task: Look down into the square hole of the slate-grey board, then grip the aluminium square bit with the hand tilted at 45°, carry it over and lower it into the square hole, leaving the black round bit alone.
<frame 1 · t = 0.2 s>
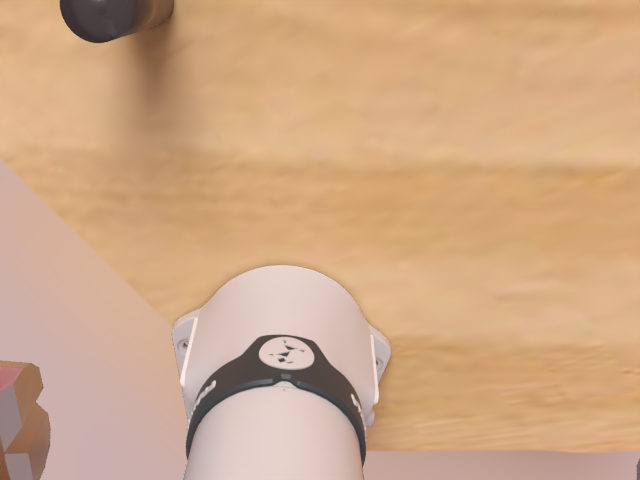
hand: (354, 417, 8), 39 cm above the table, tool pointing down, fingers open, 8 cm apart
round bit: (149, 0, 42), on the table
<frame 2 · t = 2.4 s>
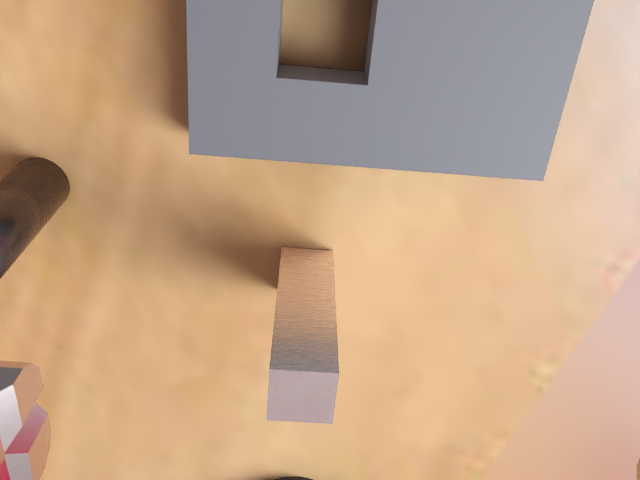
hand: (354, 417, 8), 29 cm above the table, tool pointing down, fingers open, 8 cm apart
square bit: (305, 270, 41), on the table
socket board: (379, 28, 34), on the table
round bit: (41, 183, 38), on the table
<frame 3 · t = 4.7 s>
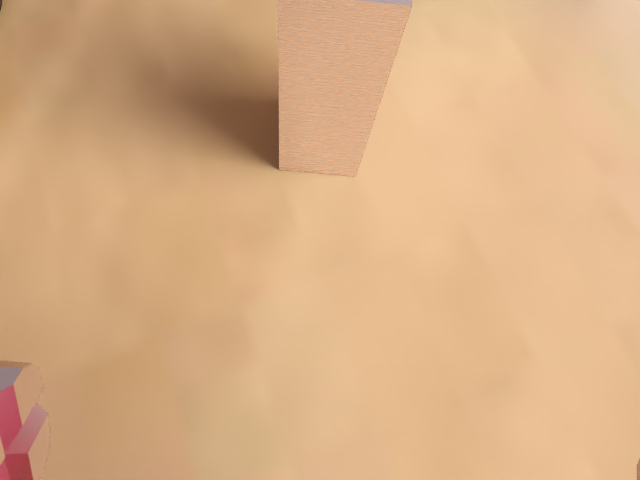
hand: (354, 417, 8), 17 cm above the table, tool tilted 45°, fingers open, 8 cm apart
square bit: (320, 137, 27), on the table
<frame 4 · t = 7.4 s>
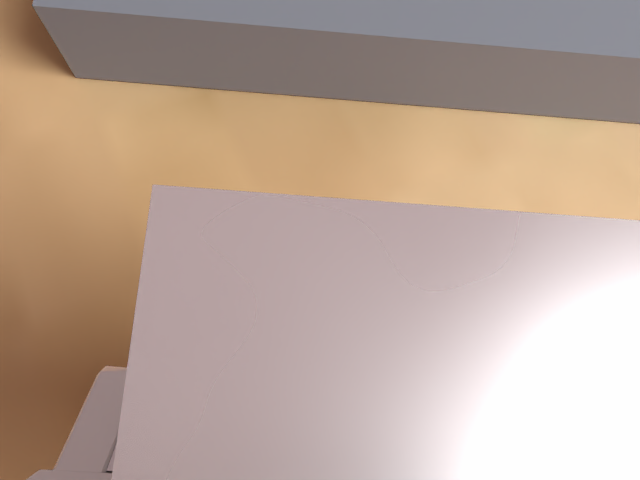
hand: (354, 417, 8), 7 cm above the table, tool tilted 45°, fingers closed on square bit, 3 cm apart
square bit: (320, 444, 14), on the table, touching gripper
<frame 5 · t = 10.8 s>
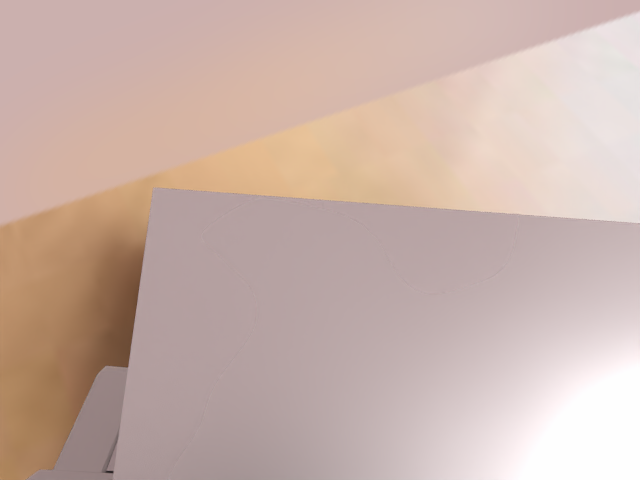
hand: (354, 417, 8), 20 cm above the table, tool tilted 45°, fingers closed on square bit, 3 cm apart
square bit: (320, 444, 14), point 14 cm above the table, touching gripper
when the fingers open (8 cm above the table, at t = 14.3 s): square bit drops 1 cm, resting in socket board.
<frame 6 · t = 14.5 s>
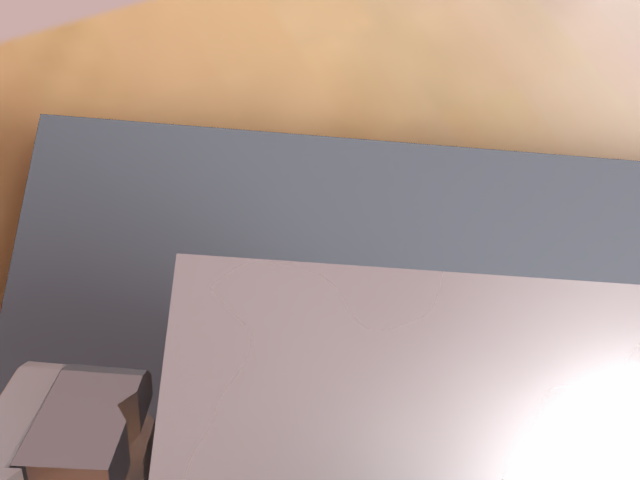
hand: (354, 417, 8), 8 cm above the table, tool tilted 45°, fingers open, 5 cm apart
square bit: (315, 442, 15), resting in socket board
socket board: (434, 449, 16), on the table
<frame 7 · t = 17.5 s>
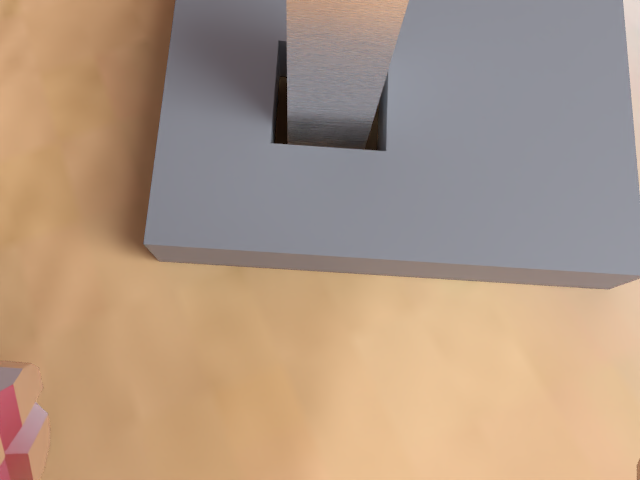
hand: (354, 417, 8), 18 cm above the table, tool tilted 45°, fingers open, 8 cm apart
square bit: (326, 125, 29), resting in socket board
socket board: (390, 130, 29), on the table
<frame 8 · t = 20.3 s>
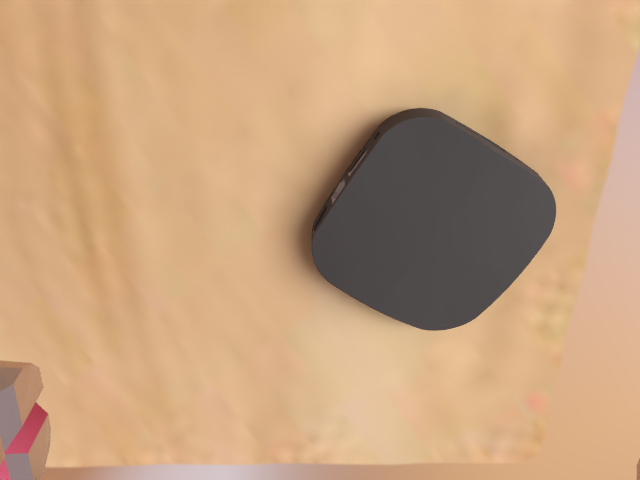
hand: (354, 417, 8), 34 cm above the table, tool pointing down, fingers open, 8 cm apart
media streaming box: (426, 218, 46), on the table
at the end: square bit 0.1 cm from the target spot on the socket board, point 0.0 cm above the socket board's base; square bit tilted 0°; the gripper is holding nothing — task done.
